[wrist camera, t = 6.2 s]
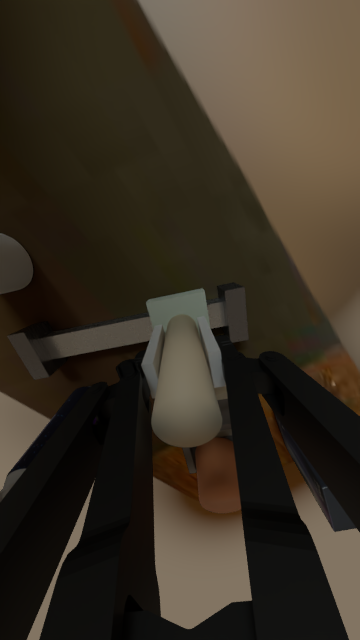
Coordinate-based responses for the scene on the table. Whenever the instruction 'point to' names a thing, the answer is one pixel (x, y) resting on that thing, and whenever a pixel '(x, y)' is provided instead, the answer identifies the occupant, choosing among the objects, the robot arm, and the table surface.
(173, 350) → the carriage
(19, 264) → the mug
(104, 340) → the rail
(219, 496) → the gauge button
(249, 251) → the table surface
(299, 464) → the small box
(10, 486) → the beverage can
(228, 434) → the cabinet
